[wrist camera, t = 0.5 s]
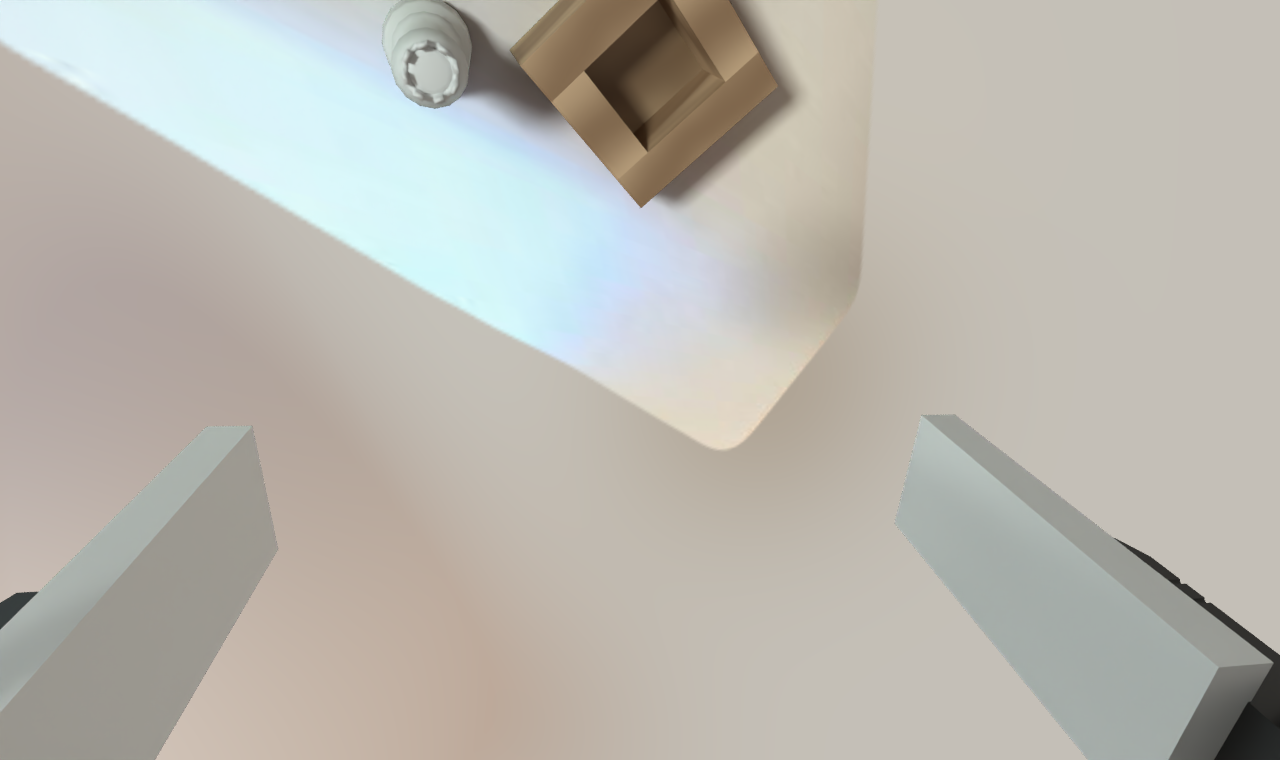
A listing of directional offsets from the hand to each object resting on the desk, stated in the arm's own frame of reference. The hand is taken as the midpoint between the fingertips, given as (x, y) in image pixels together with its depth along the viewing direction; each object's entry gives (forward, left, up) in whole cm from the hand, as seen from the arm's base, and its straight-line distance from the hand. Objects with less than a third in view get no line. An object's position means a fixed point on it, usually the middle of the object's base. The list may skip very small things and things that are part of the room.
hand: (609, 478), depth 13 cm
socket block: (+4, +8, -30) cm, 32 cm away
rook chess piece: (-4, 0, -31) cm, 31 cm away
